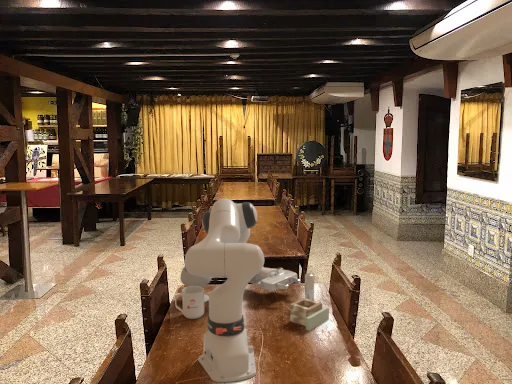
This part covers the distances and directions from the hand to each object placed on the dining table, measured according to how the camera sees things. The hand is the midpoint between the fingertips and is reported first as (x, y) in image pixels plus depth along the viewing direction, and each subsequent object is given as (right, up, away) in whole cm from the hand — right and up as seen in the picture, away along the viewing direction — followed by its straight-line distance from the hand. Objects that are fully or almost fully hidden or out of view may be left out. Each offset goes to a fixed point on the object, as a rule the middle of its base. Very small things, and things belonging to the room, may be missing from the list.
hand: (293, 284), depth 195 cm
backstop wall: (+7, -11, -24) cm, 27 cm away
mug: (-44, -10, -14) cm, 47 cm away
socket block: (+3, -10, -20) cm, 23 cm away
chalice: (-44, -8, +4) cm, 45 cm away
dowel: (+7, -8, -4) cm, 11 cm away
